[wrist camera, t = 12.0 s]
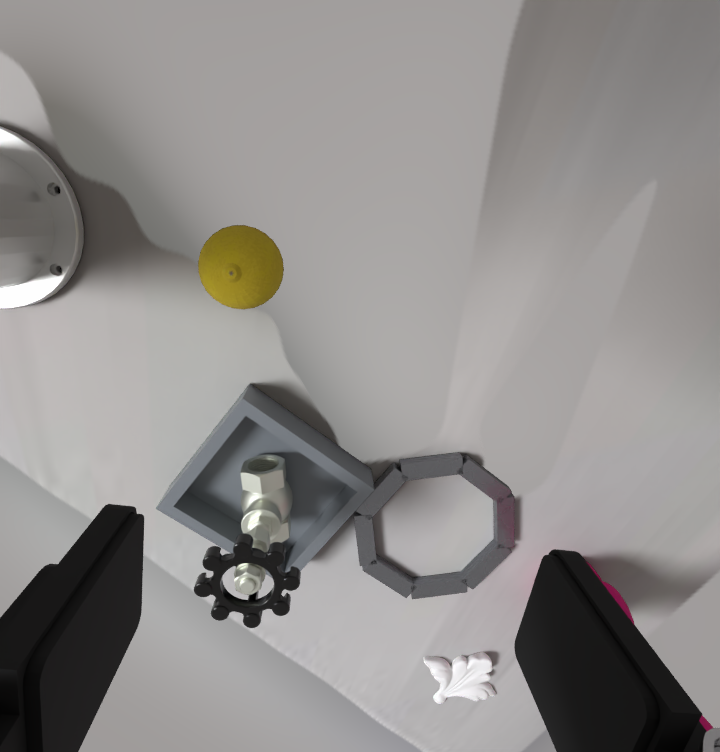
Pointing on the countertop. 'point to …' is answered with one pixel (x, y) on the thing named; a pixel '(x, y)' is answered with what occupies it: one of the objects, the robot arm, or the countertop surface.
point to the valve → (255, 546)
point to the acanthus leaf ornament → (462, 677)
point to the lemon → (240, 267)
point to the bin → (303, 473)
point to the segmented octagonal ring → (441, 582)
